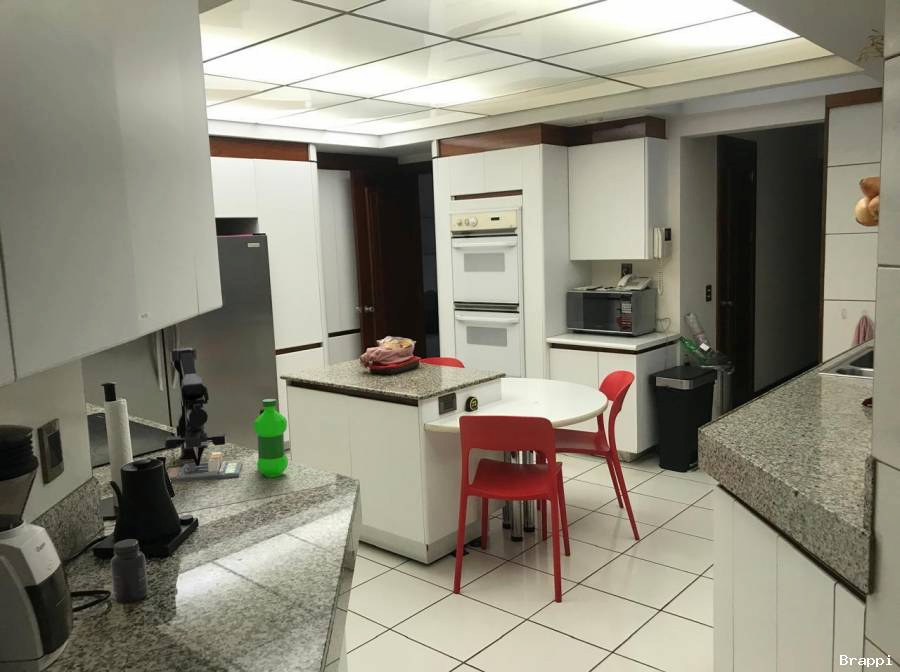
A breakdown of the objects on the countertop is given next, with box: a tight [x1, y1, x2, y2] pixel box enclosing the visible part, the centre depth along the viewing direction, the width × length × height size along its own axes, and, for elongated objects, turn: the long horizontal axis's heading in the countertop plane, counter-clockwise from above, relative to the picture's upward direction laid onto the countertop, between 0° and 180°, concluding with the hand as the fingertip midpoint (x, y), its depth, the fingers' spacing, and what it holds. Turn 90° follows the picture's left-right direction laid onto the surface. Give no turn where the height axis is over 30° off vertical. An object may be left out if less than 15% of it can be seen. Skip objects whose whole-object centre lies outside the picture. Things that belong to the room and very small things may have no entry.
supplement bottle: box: [109, 538, 149, 604], centre depth 154 cm, size 7×7×12 cm
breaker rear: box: [210, 451, 223, 466], centre depth 245 cm, size 3×3×4 cm
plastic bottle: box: [253, 398, 289, 478], centre depth 237 cm, size 10×10×25 cm
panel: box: [166, 460, 243, 483], centre depth 240 cm, size 13×24×2 cm, turn 101°
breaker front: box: [207, 458, 219, 473], centre depth 237 cm, size 3×3×4 cm
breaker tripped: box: [208, 455, 221, 468], centre depth 241 cm, size 3×3×4 cm
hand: (198, 465), depth 240 cm, fingers closed
